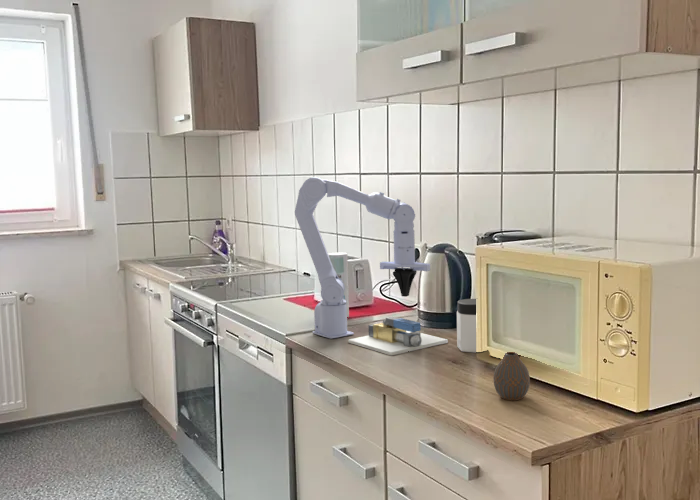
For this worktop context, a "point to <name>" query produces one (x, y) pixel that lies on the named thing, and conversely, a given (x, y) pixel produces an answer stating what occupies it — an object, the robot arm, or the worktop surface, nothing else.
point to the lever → (402, 324)
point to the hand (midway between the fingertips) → (405, 295)
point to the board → (395, 344)
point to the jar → (466, 325)
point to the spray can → (341, 272)
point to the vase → (511, 377)
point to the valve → (394, 335)
